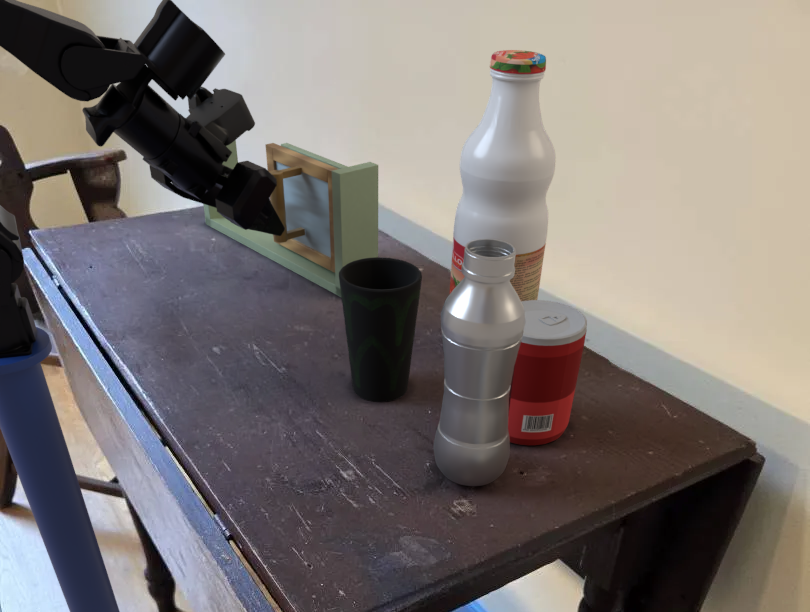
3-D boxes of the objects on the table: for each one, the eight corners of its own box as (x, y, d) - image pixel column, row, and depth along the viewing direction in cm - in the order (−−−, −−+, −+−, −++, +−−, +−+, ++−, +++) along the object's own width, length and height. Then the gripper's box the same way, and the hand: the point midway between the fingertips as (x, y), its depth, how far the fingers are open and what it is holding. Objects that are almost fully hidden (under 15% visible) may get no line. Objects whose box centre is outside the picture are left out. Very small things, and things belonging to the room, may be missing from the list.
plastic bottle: (477, 506, 65) (503, 275, 52) (416, 473, 69) (425, 248, 55) (521, 472, 69) (555, 248, 56) (460, 442, 72) (479, 224, 59)
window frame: (205, 224, 112) (189, 113, 103) (238, 216, 115) (226, 107, 106) (343, 299, 95) (340, 174, 85) (378, 287, 98) (378, 164, 88)
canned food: (583, 424, 75) (605, 318, 68) (533, 458, 71) (551, 348, 64) (519, 394, 79) (534, 291, 72) (469, 425, 75) (479, 317, 67)
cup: (353, 365, 83) (350, 253, 75) (423, 373, 82) (428, 261, 74) (333, 402, 77) (329, 285, 69) (409, 412, 76) (412, 294, 68)
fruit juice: (525, 371, 83) (569, 69, 64) (438, 360, 84) (457, 60, 66) (534, 332, 90) (575, 48, 71) (453, 322, 91) (474, 41, 72)
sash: (247, 249, 102) (236, 150, 94) (281, 239, 105) (273, 142, 97) (311, 283, 94) (305, 179, 86) (346, 272, 97) (343, 170, 89)
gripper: (252, 81, 74) (345, 182, 87) (155, 49, 84) (251, 143, 97) (191, 183, 75) (292, 267, 88) (103, 140, 86) (205, 221, 99)
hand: (259, 220), depth 93 cm, fingers open, 9 cm apart
